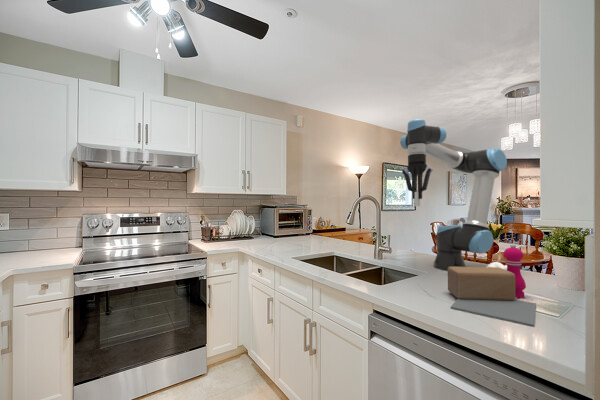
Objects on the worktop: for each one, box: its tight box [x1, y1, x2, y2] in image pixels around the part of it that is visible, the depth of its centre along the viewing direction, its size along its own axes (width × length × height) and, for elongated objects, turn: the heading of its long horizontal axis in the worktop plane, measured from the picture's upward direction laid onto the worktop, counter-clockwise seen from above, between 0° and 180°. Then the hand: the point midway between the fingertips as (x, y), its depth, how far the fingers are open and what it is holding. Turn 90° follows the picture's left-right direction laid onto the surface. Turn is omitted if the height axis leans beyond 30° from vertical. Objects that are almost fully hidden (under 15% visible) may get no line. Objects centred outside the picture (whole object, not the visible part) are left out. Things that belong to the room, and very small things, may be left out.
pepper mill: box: [503, 243, 527, 299], centre depth 108 cm, size 7×7×20 cm
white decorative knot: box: [486, 261, 507, 270], centre depth 123 cm, size 11×12×9 cm
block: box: [447, 266, 517, 300], centre depth 107 cm, size 10×10×20 cm
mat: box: [450, 298, 537, 328], centre depth 97 cm, size 22×22×1 cm
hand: (417, 206), depth 128 cm, fingers closed
